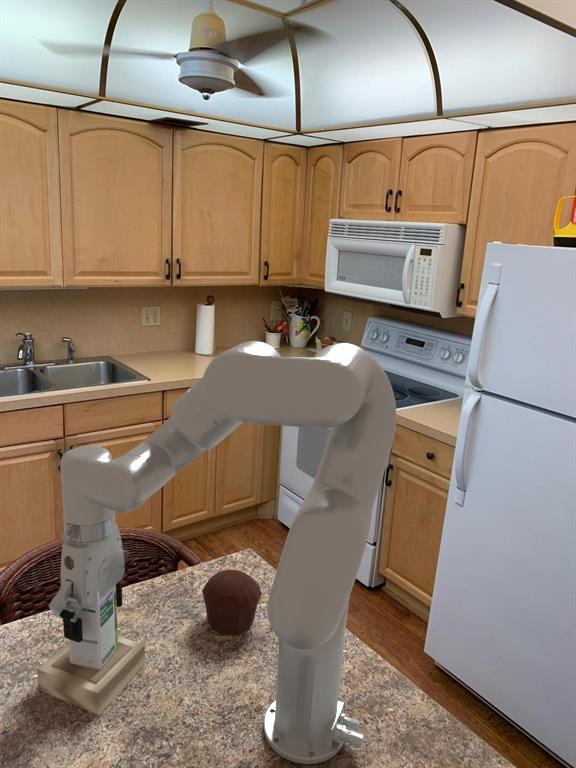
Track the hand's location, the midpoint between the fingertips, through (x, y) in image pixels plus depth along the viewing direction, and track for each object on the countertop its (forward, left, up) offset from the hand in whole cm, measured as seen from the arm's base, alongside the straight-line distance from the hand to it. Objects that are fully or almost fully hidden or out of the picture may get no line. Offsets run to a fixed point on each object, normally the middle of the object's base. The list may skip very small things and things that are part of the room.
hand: (94, 621), depth 94 cm
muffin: (-13, -23, -11) cm, 29 cm away
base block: (0, 0, -11) cm, 11 cm away
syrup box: (0, 0, -7) cm, 7 cm away
